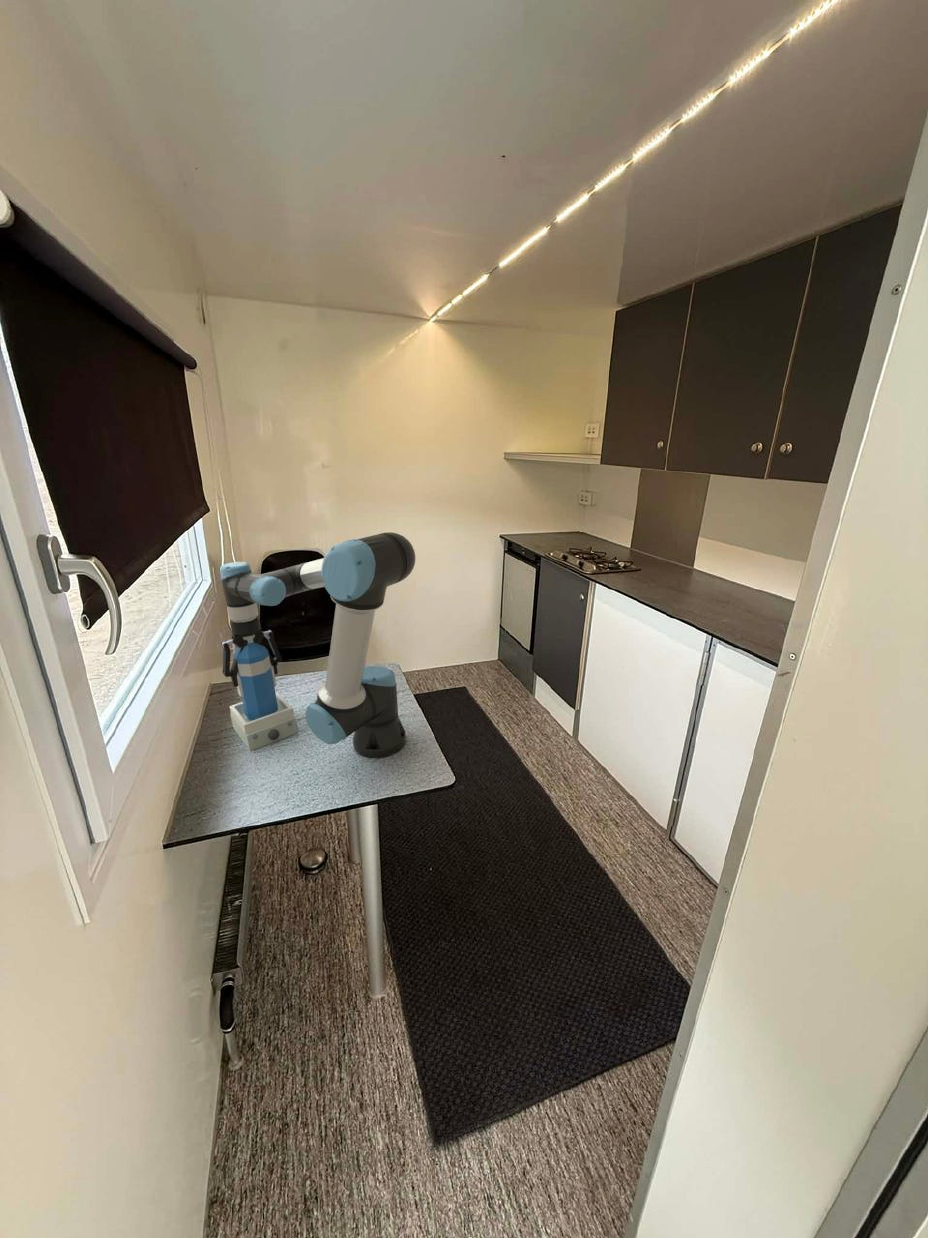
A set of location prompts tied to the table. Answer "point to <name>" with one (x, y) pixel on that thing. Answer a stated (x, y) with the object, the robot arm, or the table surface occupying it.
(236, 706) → the open storage box
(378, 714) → the robot arm
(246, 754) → the table surface
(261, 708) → the water bottle
